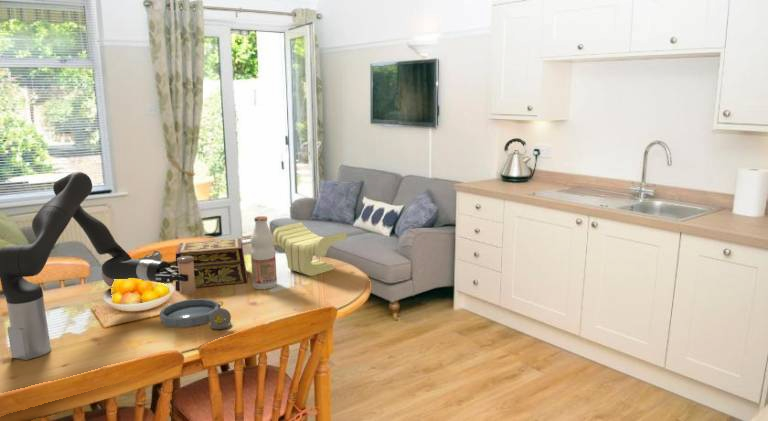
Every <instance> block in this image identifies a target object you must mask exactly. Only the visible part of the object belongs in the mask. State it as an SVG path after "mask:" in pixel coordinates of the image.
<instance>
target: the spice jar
mask: <svg viewBox="0 0 768 421" xmlns="http://www.w3.org/2000/svg"><path fill="white" fill-rule="evenodd" d="M193 261H194V257H193V256H182V257H179V258H177V263H178V271H179V274H185V275H188V281H187V282H185V281H180V290H179V292H180V294H182V295H190V294H194V293H196V292H197V288H196V287H195V275H194V264H193Z"/></svg>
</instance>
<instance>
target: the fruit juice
mask: <svg viewBox="0 0 768 421" xmlns="http://www.w3.org/2000/svg"><path fill="white" fill-rule="evenodd" d="M253 220H254V228H253V231H252V233H251V235H250V244H251V251H250V259H251V272H252V273H251V275H252V286H253V288H255V289H258V290H267V289H272V288H275V287H277V284H278V279H277V263H276V262H277V260H276V250H275V248H274V247H275V246H274V245H273V243H274V236H273V233H272V231H271V230H270V228H269V225H268V223H267V222H268V216H265V215H262V216H261V215H260V216H255V217H254V219H253Z"/></svg>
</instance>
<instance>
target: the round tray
mask: <svg viewBox="0 0 768 421" xmlns="http://www.w3.org/2000/svg"><path fill="white" fill-rule="evenodd" d="M216 302H217V301H215V300H213V299H207V298H193V299H191V298H190V299H185V300H180V301H176V302H172V303H170V304H169V305H166V306H164V307H162V309H161V310H160V311H159V319H160V323H161V324H162V325H164V326H166V327H170V328H190V327H191V328H192V327H196V326H197V327H198V326H200V325H204V324H208V323H210V321H209V317H210V314H211V312H212V311H214V310H215V309H218V307H217V306H215V303H216ZM218 304H219V302H218V303H216V305H218ZM215 318H216V317H215Z"/></svg>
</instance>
